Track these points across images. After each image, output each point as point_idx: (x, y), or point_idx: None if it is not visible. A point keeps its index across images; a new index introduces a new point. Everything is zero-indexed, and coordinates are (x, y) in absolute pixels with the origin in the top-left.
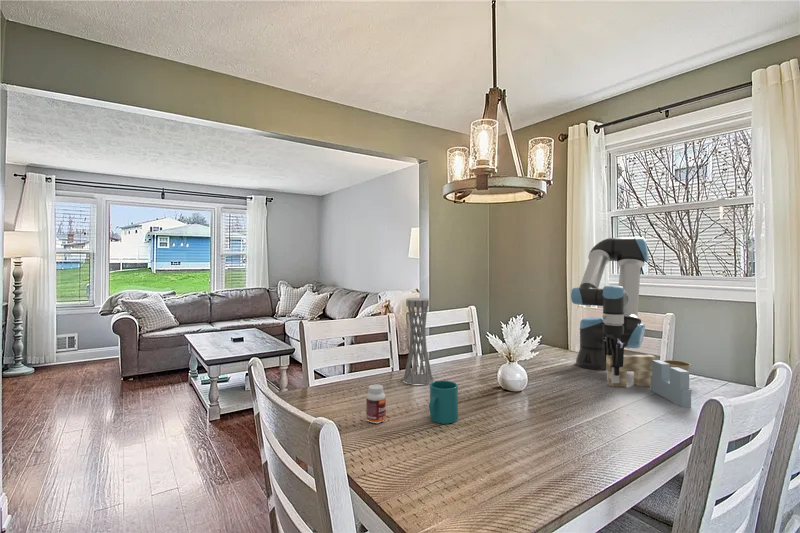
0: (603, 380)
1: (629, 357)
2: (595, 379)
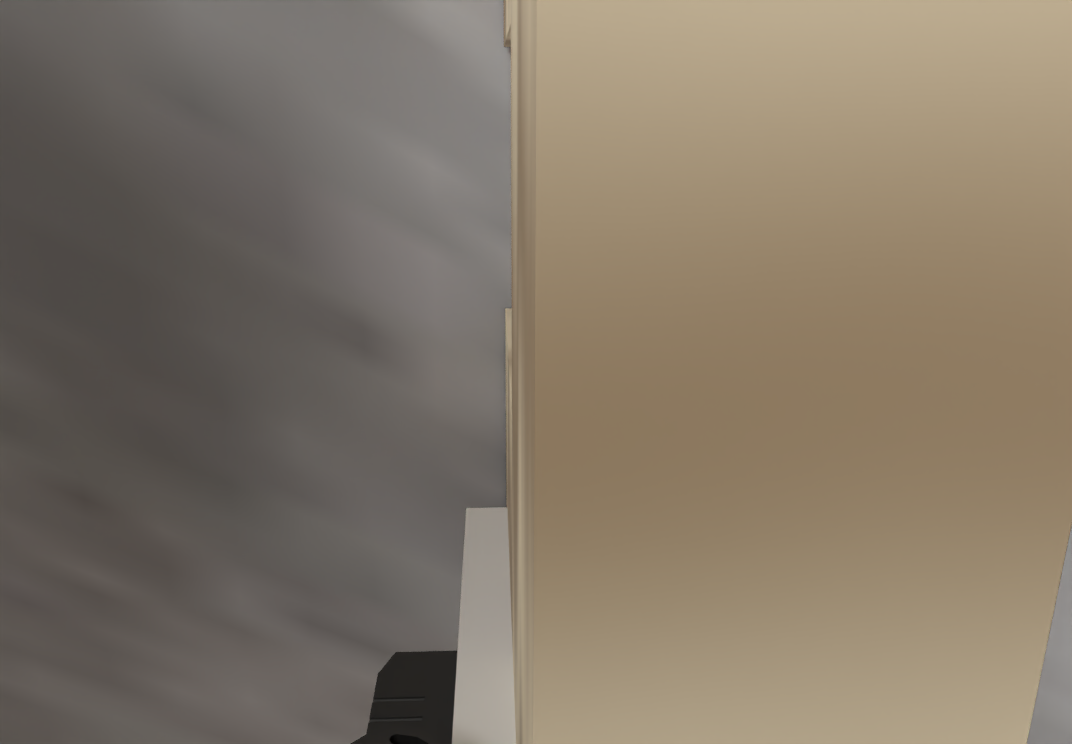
0: (251, 561)
1: (1017, 579)
2: (194, 675)
